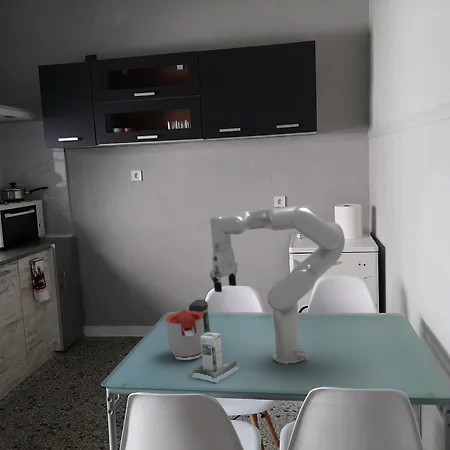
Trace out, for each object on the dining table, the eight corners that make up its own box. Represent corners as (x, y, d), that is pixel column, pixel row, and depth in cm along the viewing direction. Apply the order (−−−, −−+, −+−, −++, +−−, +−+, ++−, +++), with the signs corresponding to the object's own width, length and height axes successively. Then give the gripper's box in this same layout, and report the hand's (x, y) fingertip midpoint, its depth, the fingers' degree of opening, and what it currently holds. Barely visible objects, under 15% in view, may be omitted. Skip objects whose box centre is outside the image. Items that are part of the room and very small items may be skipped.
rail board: (239, 369, 195) (238, 361, 195) (217, 383, 184) (216, 375, 184) (214, 363, 202) (213, 356, 202) (191, 377, 191) (190, 369, 191)
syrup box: (202, 373, 191) (199, 336, 189) (210, 367, 196) (207, 331, 194) (216, 375, 188) (212, 338, 186) (223, 369, 193) (220, 332, 191)
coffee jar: (207, 345, 222) (203, 304, 219) (190, 345, 224) (186, 304, 221) (212, 337, 231) (209, 297, 229) (196, 337, 233) (192, 298, 231)
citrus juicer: (173, 368, 201) (168, 319, 198) (166, 352, 218) (162, 307, 215) (212, 360, 205) (207, 312, 202) (202, 346, 222) (198, 301, 219)
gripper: (216, 251, 193) (220, 295, 195) (242, 242, 207) (245, 284, 209) (200, 250, 197) (204, 293, 200) (227, 242, 211) (230, 282, 213)
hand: (225, 288), depth 204 cm, fingers open, 9 cm apart
